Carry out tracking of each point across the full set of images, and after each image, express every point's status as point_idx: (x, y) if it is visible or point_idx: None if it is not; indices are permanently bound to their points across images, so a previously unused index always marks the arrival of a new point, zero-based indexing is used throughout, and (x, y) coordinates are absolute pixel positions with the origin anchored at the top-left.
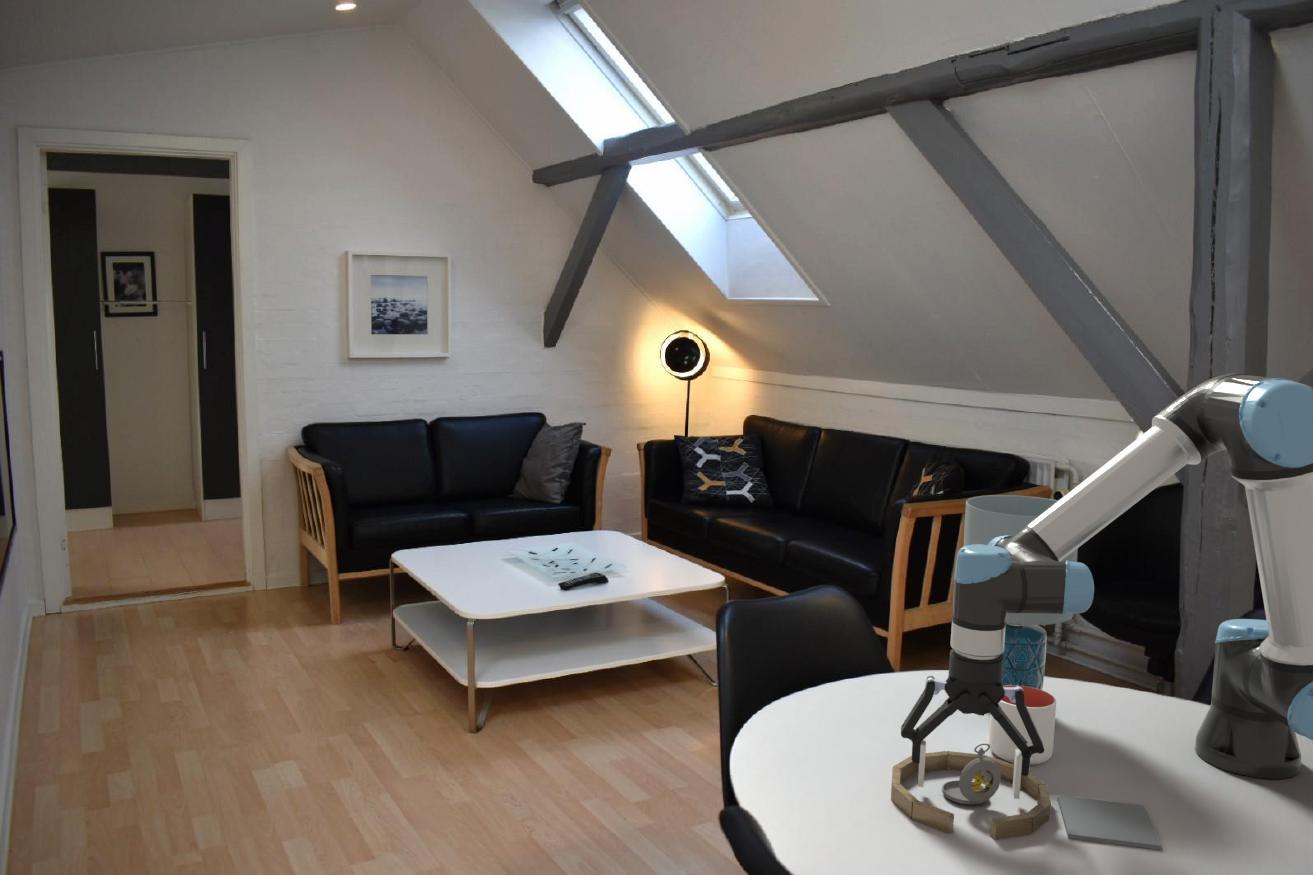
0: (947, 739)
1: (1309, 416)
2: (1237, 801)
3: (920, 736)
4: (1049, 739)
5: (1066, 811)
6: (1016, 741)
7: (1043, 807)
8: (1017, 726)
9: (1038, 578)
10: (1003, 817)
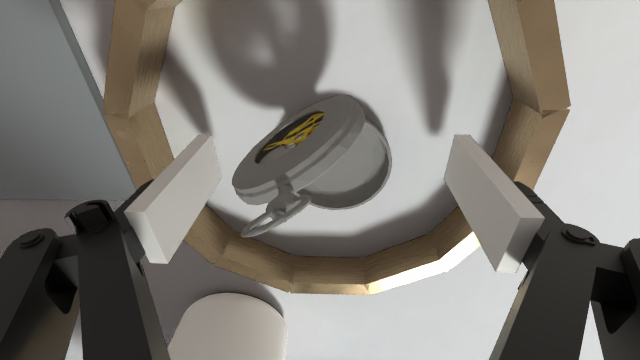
0: (354, 337)
1: None
2: None
3: (571, 249)
4: (169, 345)
5: (98, 131)
6: (110, 262)
7: (111, 74)
8: None
9: None
10: None
